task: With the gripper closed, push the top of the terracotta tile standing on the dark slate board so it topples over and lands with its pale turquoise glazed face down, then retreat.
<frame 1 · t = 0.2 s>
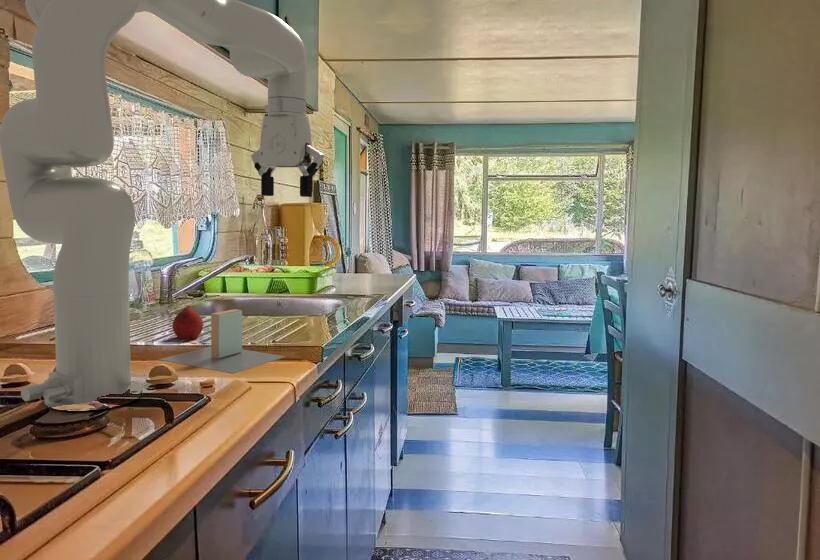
hand: (286, 196, 126), 31 cm above the counter, fingers open, 9 cm apart
tile: (227, 355, 114), point 1 cm above the counter, touching slate board
onion: (188, 344, 128), on the counter
slate board: (223, 364, 112), on the counter
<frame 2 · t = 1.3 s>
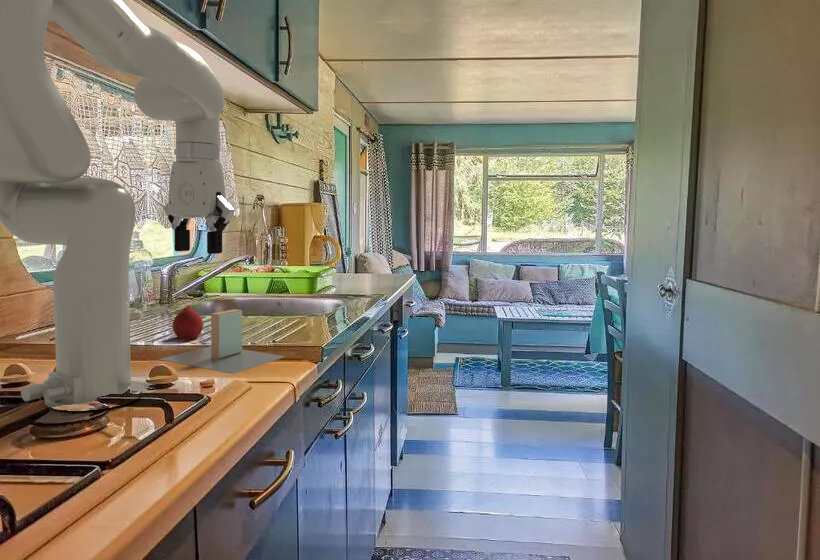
hand: (198, 251, 115), 20 cm above the counter, fingers open, 7 cm apart
nothing on the counter moved.
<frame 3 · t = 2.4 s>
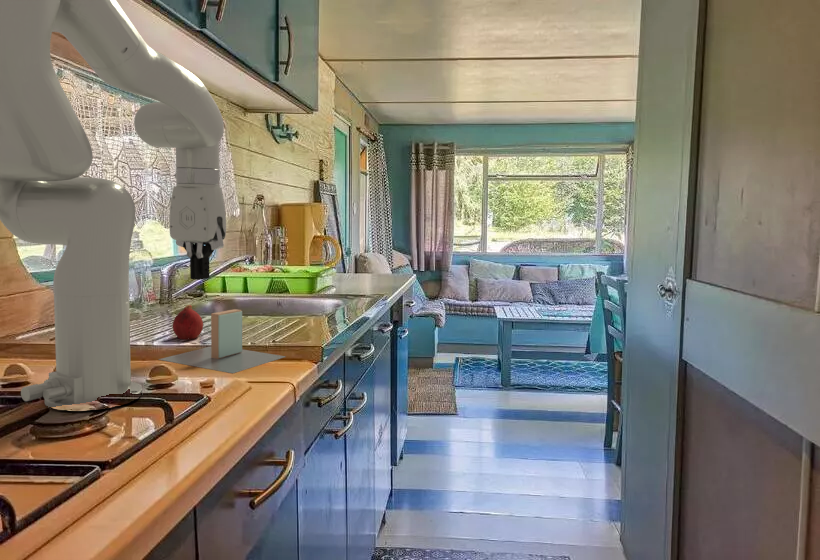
hand: (200, 278, 116), 15 cm above the counter, fingers closed
nothing on the counter moved.
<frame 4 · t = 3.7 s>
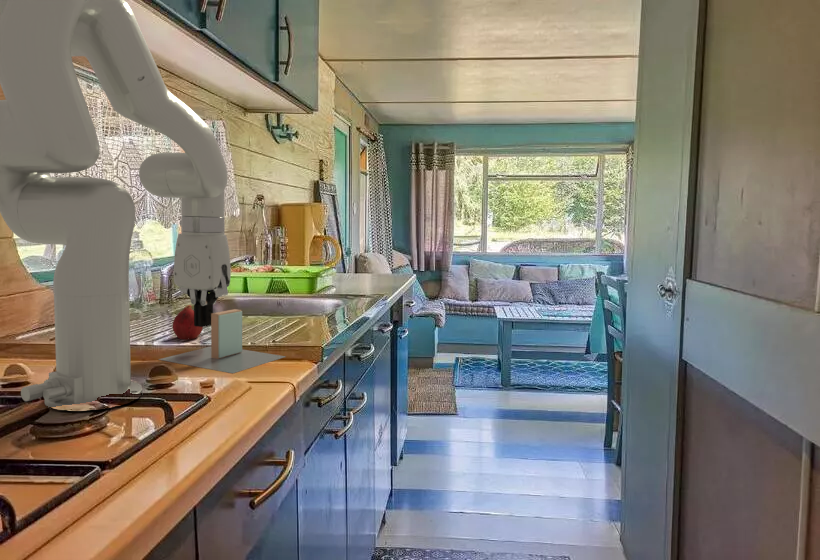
hand: (203, 325, 116), 6 cm above the counter, fingers closed
nothing on the counter moved.
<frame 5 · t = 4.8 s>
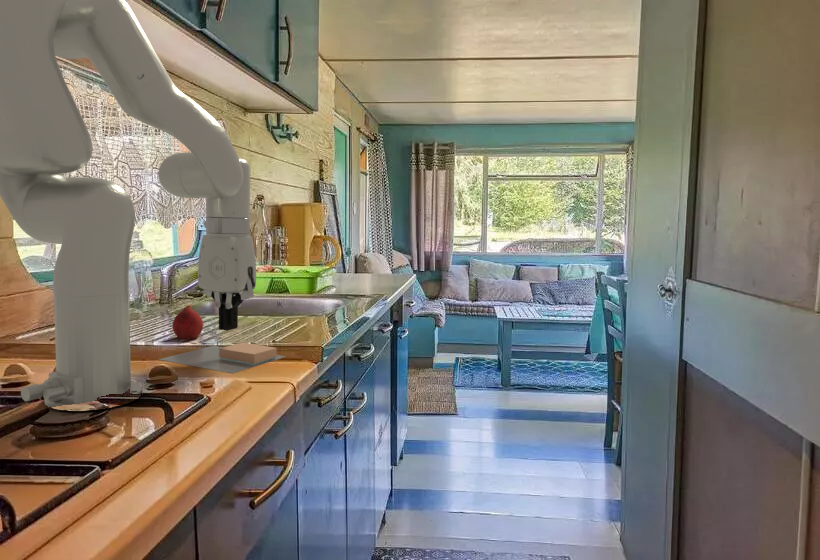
hand: (228, 328, 113), 6 cm above the counter, fingers closed
tile: (231, 350, 113), point 2 cm above the counter, tilted 90°, touching slate board
everything else where it was.
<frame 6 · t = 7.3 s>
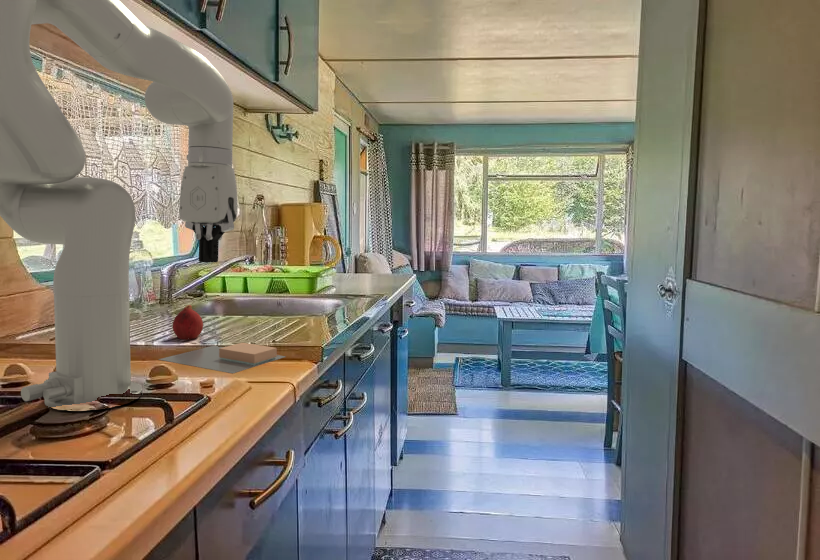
hand: (208, 261, 113), 18 cm above the counter, fingers closed
nothing on the counter moved.
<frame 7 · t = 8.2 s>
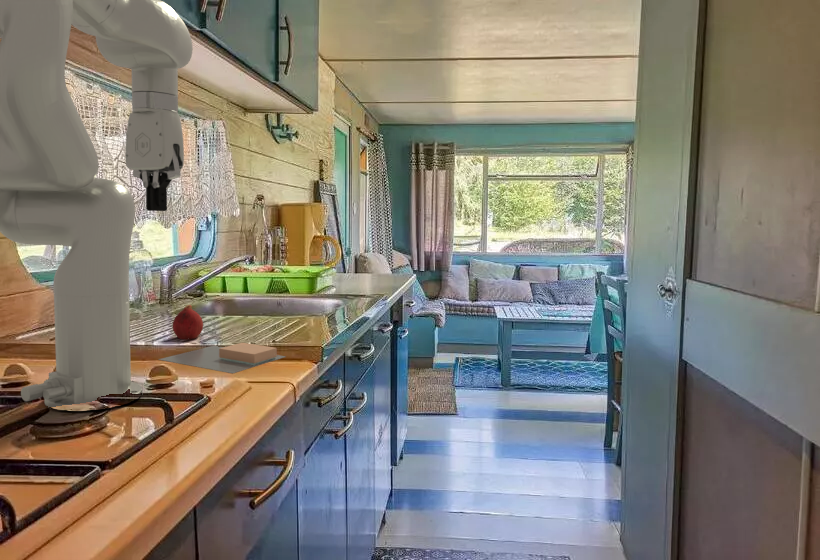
hand: (156, 210, 112), 27 cm above the counter, fingers closed
nothing on the counter moved.
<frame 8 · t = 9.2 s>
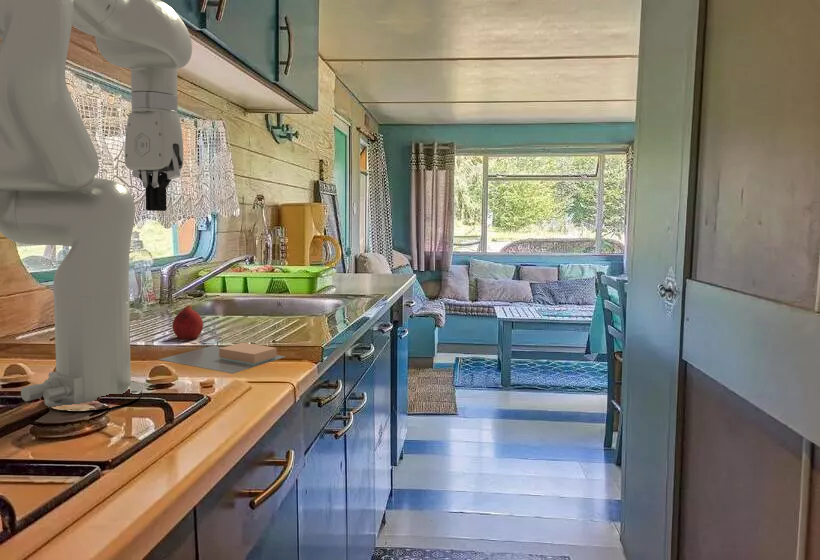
hand: (156, 210, 112), 27 cm above the counter, fingers closed
nothing on the counter moved.
at the end: tile tilted 90°; tile inside the target area (3.0 cm from its centre), point 2.1 cm above the counter; the gripper is holding nothing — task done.
